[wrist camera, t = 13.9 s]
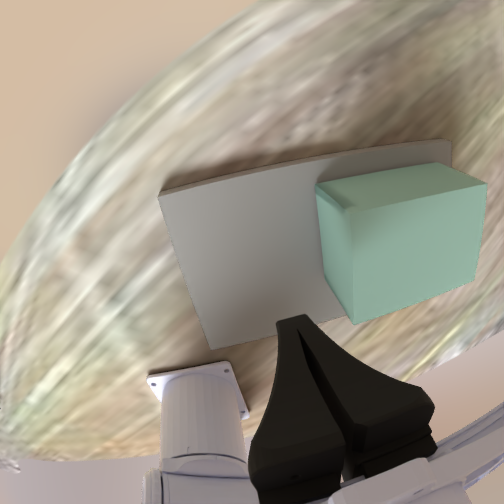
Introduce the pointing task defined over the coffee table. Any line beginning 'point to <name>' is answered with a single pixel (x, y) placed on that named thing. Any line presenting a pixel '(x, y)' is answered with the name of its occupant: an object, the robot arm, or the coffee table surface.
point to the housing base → (267, 238)
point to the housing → (399, 236)
